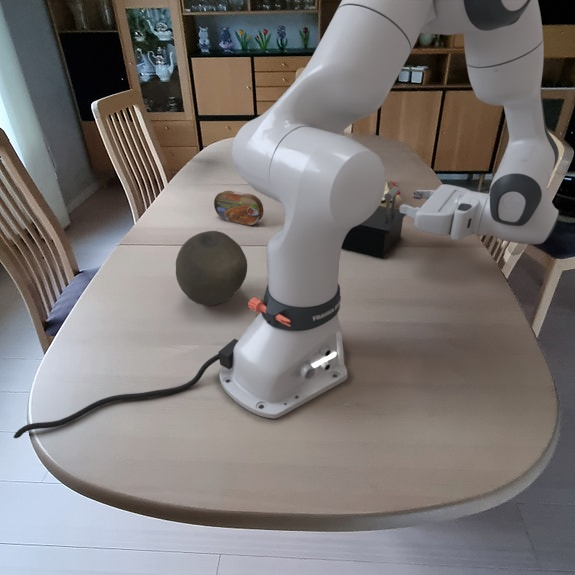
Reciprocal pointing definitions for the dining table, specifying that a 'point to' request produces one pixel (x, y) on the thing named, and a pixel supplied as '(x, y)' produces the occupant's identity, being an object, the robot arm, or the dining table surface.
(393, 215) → the bin lid
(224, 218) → the tin
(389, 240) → the bin
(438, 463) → the dining table surface
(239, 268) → the dark brown ball
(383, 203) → the cat figure
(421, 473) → the dining table surface
